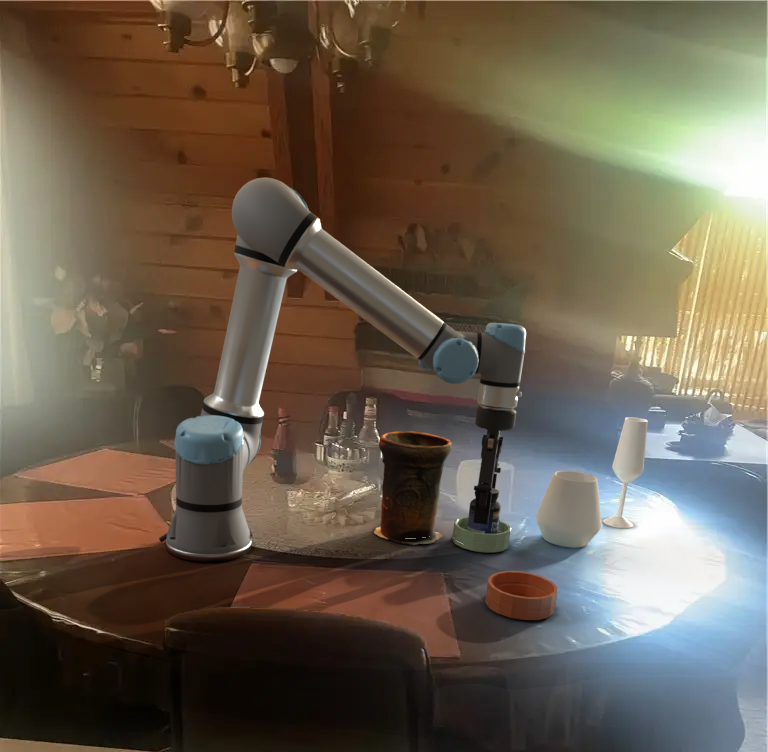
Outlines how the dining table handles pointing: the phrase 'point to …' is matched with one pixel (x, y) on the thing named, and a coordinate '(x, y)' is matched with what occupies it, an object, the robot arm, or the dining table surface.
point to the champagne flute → (628, 462)
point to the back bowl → (481, 537)
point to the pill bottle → (493, 516)
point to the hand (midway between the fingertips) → (483, 513)
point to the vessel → (411, 485)
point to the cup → (570, 509)
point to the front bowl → (521, 595)
